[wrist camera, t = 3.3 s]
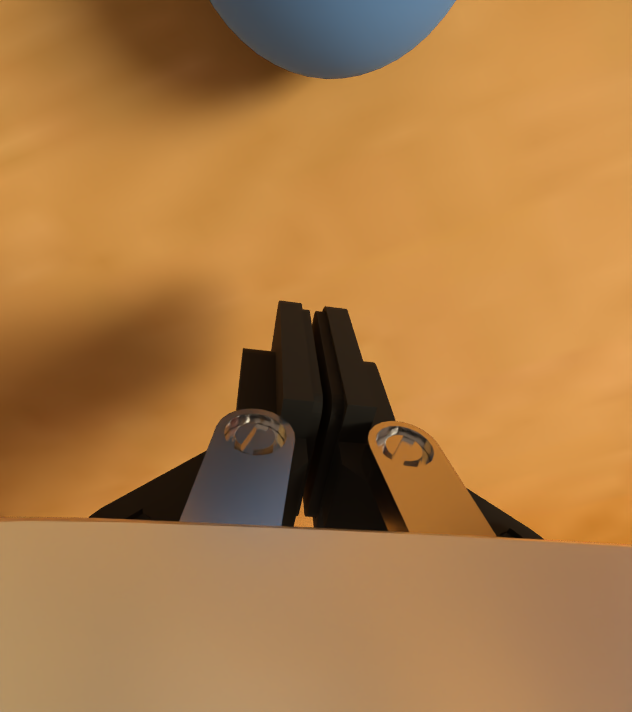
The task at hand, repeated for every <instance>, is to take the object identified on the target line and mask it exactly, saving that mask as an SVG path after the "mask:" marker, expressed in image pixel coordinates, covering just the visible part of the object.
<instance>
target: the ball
mask: <svg viewBox="0 0 632 712" xmlns="http://www.w3.org/2000/svg"><path fill="white" fill-rule="evenodd" d="M455 1H456V0H210V2H211V4H212V5H213V7H214V8H215V10H216V11H217V12H218V14H219V15H220V16H221V18H222V19H223V20H224V22H225V23H226V24H227V26H228V27H229V28H230V29H231V30H232V31H233V32H234V33H235V34H236V35H237V36H238V37H239V38H240V39H241V41H243V42H244V43H245V44H246V45H247V46H249V47H250V48H251V49H252V50H253V51H255V52H256V53H257V54H259V55H260V56H262V57H263V58H265V59H267V60H268V61H270V62H271V63H273V64H275V65H277V66H279V67H281V68H284V69H286V70H288V71H290V72H293V73H297V74H301V75H304V76H308V77H315V78H323V79H338V78H348V77H353V76H359V75H362V74H365V73H368V72H371V71H374V70H377V69H379V68H382V67H384V66H386V65H388V64H390V63H392V62H393V61H395V60H397V59H399V58H400V57H402V56H403V55H405V54H406V53H408V52H409V51H410V50H412V49H413V48H414V47H416V46H417V45H418V44H419V43H420V42H421V41H422V40H423V39H424V38H426V37H427V36H428V35H429V34H430V33H431V31H432V30H433V29H434V28H435V27H436V26H437V25H438V23H439V22H440V21H441V20H442V19H443V18H444V16H445V15H446V14H447V12H448V11H449V10H450V8H451V7H452V5H453V4H454V2H455Z"/></svg>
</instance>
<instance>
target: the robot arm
mask: <svg viewBox="0 0 632 712" xmlns="http://www.w3.org/2000/svg"><path fill="white" fill-rule="evenodd" d="M302 498H303V503H304V514H305V516H308V517H313V524H314V528H311V527H294V522H295V518H296V516H298V514H299V511H300V506H301V502H302ZM0 712H632V545H628V544H610V543H592V542H575V541H558V540H544V539H543V538H542V537H540V536H539V535H538V534H536V533H535V532H534V531H532V530H531V529H529V528H528V527H526V526H525V525H523V524H522V523H520V522H518V521H517V520H515V519H514V518H512V517H511V516H509V515H508V514H506V513H504V512H503V511H501V510H500V509H498V508H497V507H495V506H494V505H492V504H490V503H489V502H487V501H486V500H484V499H483V498H481V497H480V496H478V495H476V494H475V493H473V492H472V491H470V490H469V489H467V488H466V487H465V486H464V484H463V482H462V481H461V479H460V478H459V476H458V475H457V473H456V471H455V470H454V468H453V467H452V465H451V464H450V462H449V460H448V459H447V457H446V456H445V454H444V452H443V451H442V449H441V448H440V446H439V445H438V443H437V442H436V441H435V440H434V439H433V437H432V436H430V435H429V434H428V433H426V432H425V431H424V430H422V429H420V428H418V427H416V426H414V425H411V424H408V423H404V422H398V421H395V418H394V415H393V412H392V409H391V406H390V403H389V400H388V398H387V395H386V392H385V389H384V386H383V383H382V380H381V377H380V375H379V372H378V369H377V366H376V364H375V363H373V362H364V361H363V359H362V356H361V353H360V350H359V346H358V343H357V340H356V337H355V333H354V330H353V327H352V324H351V320H350V317H349V314H348V311H347V309H342V308H334V307H326V306H325V307H324V309H323V311H322V312H319V311H316V312H315V314H314V318H313V323H311V317H310V311H309V310H303V309H302V304H301V303H294V302H286V301H279V303H278V309H277V315H276V322H275V329H274V336H273V342H272V349H271V351H263V350H254V349H245V348H243V353H242V362H241V371H240V379H239V389H238V398H237V407H236V411H234V412H232V413H229V414H228V415H226V416H225V417H223V418H222V419H221V420H220V422H219V423H218V425H217V426H216V429H215V431H214V434H213V436H212V439H211V441H210V444H209V446H208V449H207V451H205V452H203V453H201V454H199V455H198V456H196V457H194V458H192V459H190V460H188V461H187V462H185V463H183V464H181V465H179V466H177V467H176V468H174V469H172V470H170V471H168V472H167V473H165V474H163V475H161V476H159V477H157V478H156V479H154V480H152V481H150V482H148V483H146V484H145V485H143V486H141V487H139V488H137V489H135V490H134V491H132V492H130V493H128V494H126V495H124V496H123V497H121V498H119V499H117V500H115V501H113V502H112V503H110V504H108V505H106V506H104V507H102V508H101V509H99V510H98V511H97V512H95V513H94V514H92V515H91V516H90V517H89V518H62V517H0Z"/></svg>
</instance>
